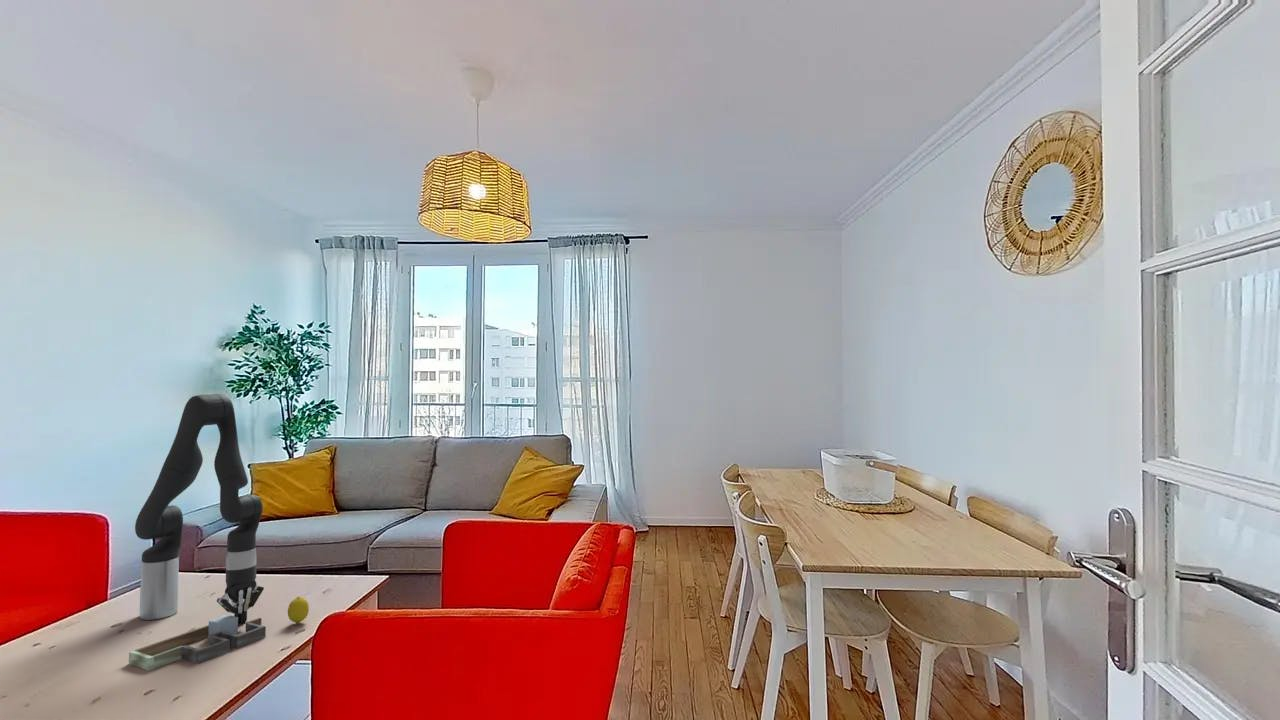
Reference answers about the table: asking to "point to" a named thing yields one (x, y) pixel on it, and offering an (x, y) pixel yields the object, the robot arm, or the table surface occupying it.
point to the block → (223, 625)
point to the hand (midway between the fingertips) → (240, 624)
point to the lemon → (298, 610)
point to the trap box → (176, 650)
